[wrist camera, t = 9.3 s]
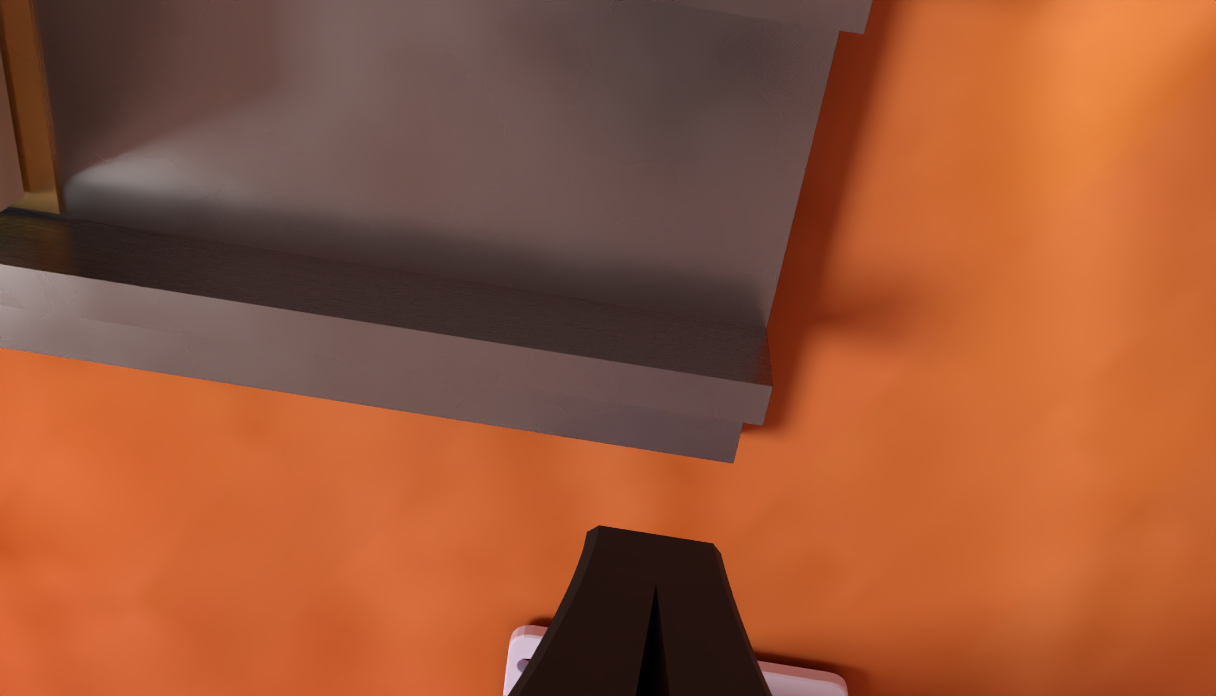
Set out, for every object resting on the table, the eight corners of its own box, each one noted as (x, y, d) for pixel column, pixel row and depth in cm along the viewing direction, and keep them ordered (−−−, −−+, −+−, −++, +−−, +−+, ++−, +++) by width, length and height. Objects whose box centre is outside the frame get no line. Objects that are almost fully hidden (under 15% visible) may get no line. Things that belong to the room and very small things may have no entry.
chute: (732, 434, 21) (735, 529, 19) (-226, 283, 21) (-355, 356, 19) (891, -226, 15) (930, -221, 13) (-451, -438, 15) (-687, -476, 13)
